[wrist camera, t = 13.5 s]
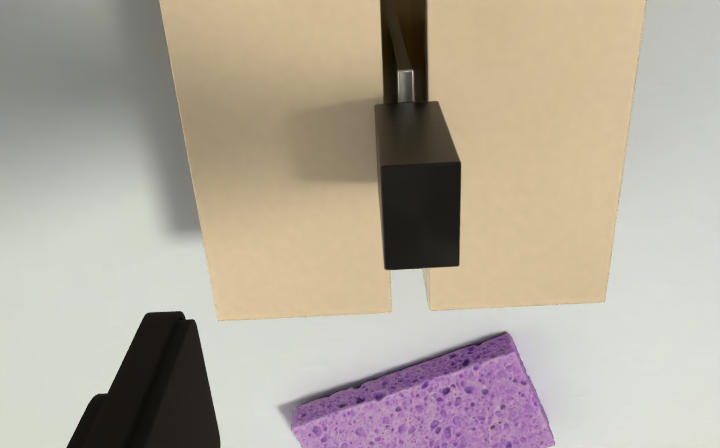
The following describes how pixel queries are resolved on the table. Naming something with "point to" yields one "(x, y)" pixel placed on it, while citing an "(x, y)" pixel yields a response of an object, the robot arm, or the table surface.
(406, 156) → the knife
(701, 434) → the table surface
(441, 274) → the cake
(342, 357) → the table surface
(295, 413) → the sponge
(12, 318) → the table surface
